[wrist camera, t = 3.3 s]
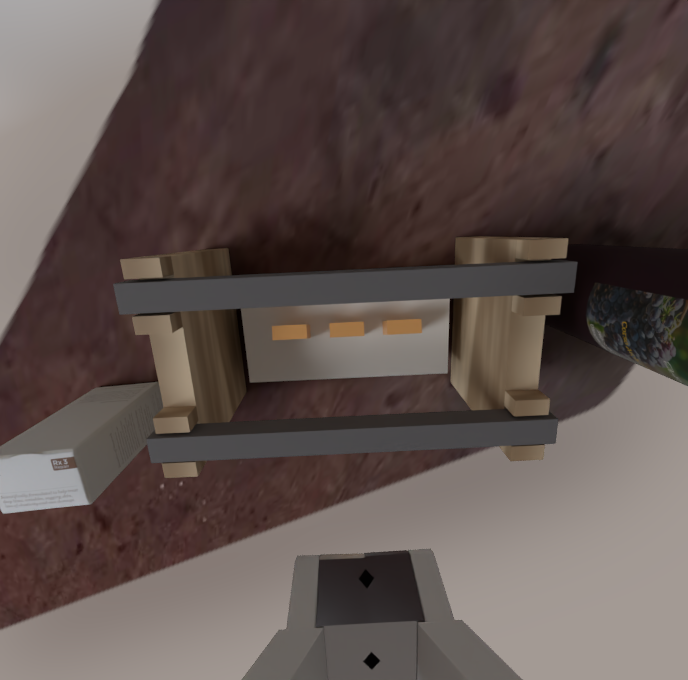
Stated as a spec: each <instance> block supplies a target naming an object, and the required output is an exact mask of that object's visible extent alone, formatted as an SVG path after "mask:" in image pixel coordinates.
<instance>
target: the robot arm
mask: <svg viewBox="0 0 688 680" xmlns="http://www.w3.org/2000/svg"><path fill="white" fill-rule="evenodd" d="M242 680H522V679H521V678H520V677H519V676H518V675H517V674H516V673H515V672H514V671H513V670H512V669H511V668H510V667H509V666H508V665H507V664H506V663H505V662H504V661H503V660H502V659H501V658H500V657H499V656H498V655H497V654H496V653H495V652H494V651H493V650H492V649H491V648H490V647H489V646H488V645H487V644H486V643H485V642H484V641H483V640H482V639H481V638H480V637H479V636H478V635H476V634H475V632H474V631H473V630H471V629H470V628H469V627H468V626H467V625H466V624H465V623H464V622H463V621H462V620H454V617H453V614H452V611H451V608H450V604H449V601H448V598H447V595H446V591H445V588H444V585H443V582H442V579H441V576H440V572H439V569H438V566H437V563H436V560H435V556H434V553H433V551H432V550H431V549H419V550H408V551H406V550H405V551H389V552H373V553H364V554H327V555H312V556H311V555H310V556H297V558H296V561H295V565H294V573H293V582H292V590H291V597H290V604H289V613H288V621H287V628H286V629H285V630H279V631H278V632H277V633H276V635H275V636H274V637H273V639H272V640H271V641H270V643H269V644H268V645H267V647H266V648H265V649H264V651H263V652H262V653H261V655H260V656H259V657H258V659H257V660H256V661H255V663H254V664H253V665H252V667H251V668H250V669H249V671H248V672H247V673H246V675H245V676H244V677H243V679H242Z"/></svg>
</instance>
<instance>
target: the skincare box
mask: <svg viewBox="0 0 688 680" xmlns="http://www.w3.org/2000/svg"><path fill="white" fill-rule="evenodd" d="M163 408H164V407H163V402H162V397H161V392H160V387H159V383H158V382H151V383H141V384H130V385H120V386H109V387H99V388H95V389H93V390H91V391H90V392H88V393H87V394H85V395H83V396H82V397H80V398H78V399H77V400H75V401H73V402H72V403H70V404H69V405H67V406H65V407H64V408H62V409H61V410H59V411H57V412H56V413H54V414H53V415H51V416H49V417H48V418H46V419H44V420H43V421H41V422H40V423H38V424H36V425H35V426H33V427H32V428H30V429H28V430H26V431H25V432H23V433H22V434H20V435H18V436H17V437H15V438H13V439H12V440H10V441H8V442H7V443H5V444H4V445H2V446H0V509H1V511H2V513H13V512H22V511H31V510H40V509H49V508H59V507H68V506H78V505H89V504H92V503H93V502H94V501H95V500H96V498H97V497H98V496H99V495H100V494H101V493H102V492H103V491H104V490H105V489H106V488H107V487H108V486H109V484H110V483H111V482H112V481H113V480H114V479H115V478H116V477H117V476H118V475H119V474H120V473H121V472H122V471H123V469H124V468H125V467H126V466H127V465H128V464H129V463H130V462H131V461H132V460H133V459H134V458H135V456H136V455H137V454H138V453H139V452H140V451H141V450H142V449H143V448H144V447H145V446H146V445H147V440H146V439H147V438H148V437H149V436H150V435H151V434H152V432H153V431H154V430H155V427H154V422H153V418H154V417H155V416H156V415H157V414H158V413H159V412H160V411H161V410H162V409H163Z"/></svg>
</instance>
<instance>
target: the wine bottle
mask: <svg viewBox="0 0 688 680" xmlns="http://www.w3.org/2000/svg"><path fill="white" fill-rule="evenodd" d="M551 260H566V261H575V262H578V263H577V271H576V279H575V287H574V293H556V295H559V296H562V299H561V308H560V315H545V324H547V325H549V326H551V327H554V328H556V329H558V330H560V331H563V332H565V333H567V334H570V335H572V336H574V337H576V338H579V339H581V340H583V341H586V342H588V343H590V344H592V345H595V346H597V347H599V348H602V349H604V350H606V351H609V352H611V353H613V354H615V355H618V356H620V357H622V358H625V359H627V360H629V361H631V362H634V363H636V364H638V365H641V366H643V367H645V368H647V369H650V370H652V371H654V372H657V373H659V374H661V375H664V376H666V377H668V378H670V379H673V380H675V381H677V382H680V383H682V384H684V385H687V386H688V249H670V248H648V247H626V246H604V245H582V244H572V245H568V246H567V255H566V258H558V259H551Z"/></svg>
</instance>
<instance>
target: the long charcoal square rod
mask: <svg viewBox="0 0 688 680" xmlns="http://www.w3.org/2000/svg"><path fill="white" fill-rule="evenodd" d="M577 263H578V262H575V261H566V260H544V261H523V262H502V263H481V264H460V265H439V266H418V267H397V268H376V269H355V270H335V271H314V272H293V273H272V274H251V275H230V276H209V277H188V278H167V279H146V280H129V281H124V282H120V283H115V284H113V286H114V290H115V295H116V300H117V304H118V309H119V314H138V313H159V312H180V311H201V310H222V309H243V308H264V307H285V306H306V305H327V304H347V303H368V302H389V301H410V300H431V299H452V298H473V297H494V296H515V295H535V294H556V293H574V287H575V279H576V271H577Z"/></svg>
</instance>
